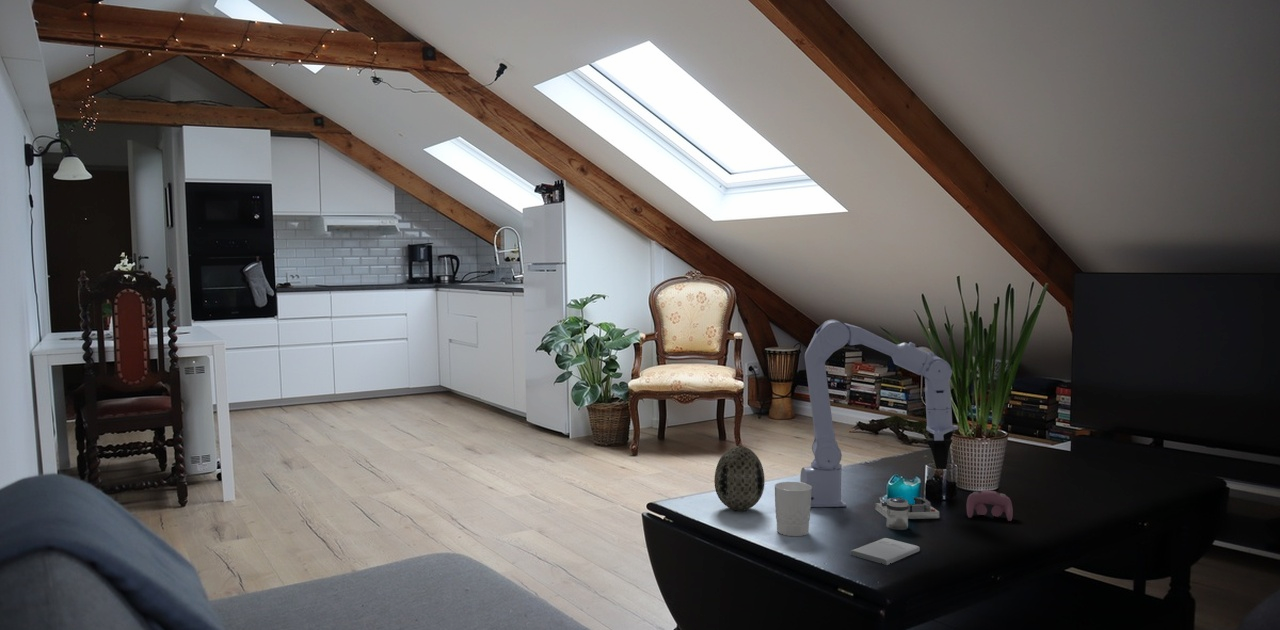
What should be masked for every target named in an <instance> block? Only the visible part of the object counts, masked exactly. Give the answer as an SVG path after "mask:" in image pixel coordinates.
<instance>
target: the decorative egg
mask: <svg viewBox="0 0 1280 630" xmlns="http://www.w3.org/2000/svg"><path fill="white" fill-rule="evenodd" d="M714 471H715V472H714V490H715V492H716V495H717V497H718V499H719V500H720V502H721V503H722V504H723V505H724V506H725V507H727V508H729V509H731V510H734V511H742V512H743V511H746V510H749V509H751V508H753V507H754V506H756V504H758V502H759V501H760V499H761V498H762V496H763V493H764V490H765V485H766V484H765V482H766V481H765V480H766V479H765V472H764V469H763V465H762V461H761V460H760V459H759V457H758V456H757V454H756V453H755V452H754V451H753V450H752V449H750V448H749V447H746V446H743V445H736V446H732V447H730V448H729V449H727V450H726V451H725V452H724V453H723V454H722V455H721V457H720V458H719V459H718V461H717V465H716V469H715V470H714Z"/></svg>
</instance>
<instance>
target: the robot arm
mask: <svg viewBox="0 0 1280 630" xmlns="http://www.w3.org/2000/svg"><path fill="white" fill-rule="evenodd" d="M847 344H848V345H849V346H855V345H863V346H865V347H867V348H870V349H873V350H875V351H878V352H880V353H882V354H885V355H887V356H889V357H891V359H892V361H893V362H892V363H893V364H894V365H896V366H898V367H899V368H902V369H905V370H907V371H909V372H912V373H914V374H916V375H918V376H923V377H924V384H925V385H924V386H925V387H924V395H925V397H924V399H925V413H926V415H925V416H926V428H925V430H926V431H927V432H928V435H929V437H927V438H926V443H927V445H928V446H929V448H930V450H931V453H932V457H933V461H934V465H935V467H936V470H946V469H947V466H948V459H949V453H950V452H949V451H950V447H951V445H952V443H953V439H952V438H953V435H954V431H956V430H958V429H959V426H958V425H955V424H954V425H953V413H952V410H953V409H952V396H951V395H952V394H951V388H950V383H951V382H950V380H951V378H952V375H953V369H952V367H951V365H950V363H949V362H948V361H946V360H945V359H943V358H941V357H939V356H938V355H935V353H934V352H933V351H929V352H928V351H925V350H923V349H921V348H919V347H917V346H916V343H913V342H912V341H909V343H907V342H901V343H898V344H896V343H893V342H892V341H889V340H887V339H886V338H883V337H881V336H879V335H877V334H875V333H873V332H871V331H869V330H867V329H864V328H862V327H860V326H856V325H854V324H849V323H846V322H843V323H842V322H841V321H839V320H837V319H828V320H826V321H824V322H823V323H822V324H821V325H820V326H819V327H818V328H817V329H815V332H814V334H813V337H812V338H811V340H810V343H809V344H808V347H807V348H806V351H805V353H804V362H805V369H806V378H807V385H808V393H809V403H810V409H811V416H812V423H813V435H814V439H813V443H812V445H811V451H812V454H813V456H814V459H813V460H812V461H811V462H810V465H809V466H804V467H802V468H801V470H800V480H799V482H800V483H805V484H808V485H810V486H812V494H811V508H827V507H828V508H830V507H831V508H832V507H833V508H835V507H837V508H838V507H847V503H846V502H844V501H843V500H842V464H841V460H842V459H843V458H842V450H841V449H840V447H839V445H838V442H837V441H836V440H837V439H836V436H835V430H834V424H833V423H834V422H833V417H832V416H833V415H832V408H831V401H830V393H829V385H828V379H827V378H828V377H827V370H826V361H827V360H828V359H829V358H830V357H831V356H832V355H833V353H835V352H836V351H838V350H840V349H842V348H843V347H845V345H847Z"/></svg>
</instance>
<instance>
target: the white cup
mask: <svg viewBox="0 0 1280 630" xmlns="http://www.w3.org/2000/svg"><path fill="white" fill-rule="evenodd" d="M811 494H812V486H810V485H808V484H805V483H800V481H799V482H798V481H782V482H778V483H775V484H774V504H775V505H774V506H775V519H776V533H778V532H779V533H778V534H779V535H782V534H783V535H782V536H786V535H787V537H803V535H804V536H806V535H808V534H809V530H810V529H809V528H810V520H811V509H812V507H811Z"/></svg>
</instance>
